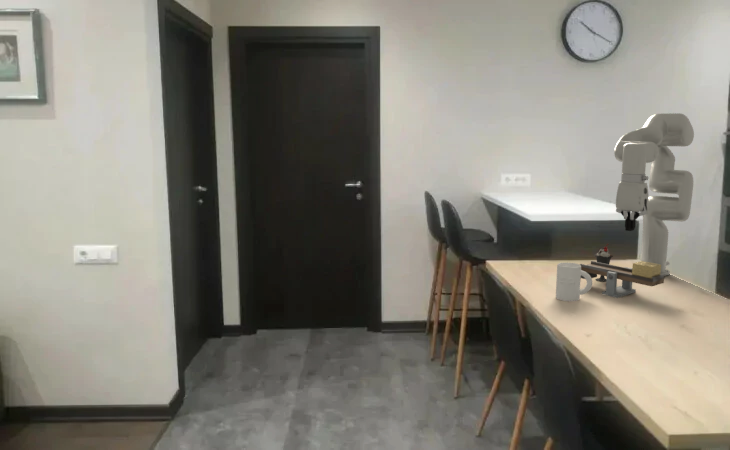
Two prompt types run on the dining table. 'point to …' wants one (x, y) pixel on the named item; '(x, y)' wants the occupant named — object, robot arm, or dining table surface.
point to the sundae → (603, 260)
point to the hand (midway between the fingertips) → (629, 230)
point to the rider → (646, 269)
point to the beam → (619, 273)
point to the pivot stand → (617, 291)
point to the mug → (571, 282)
